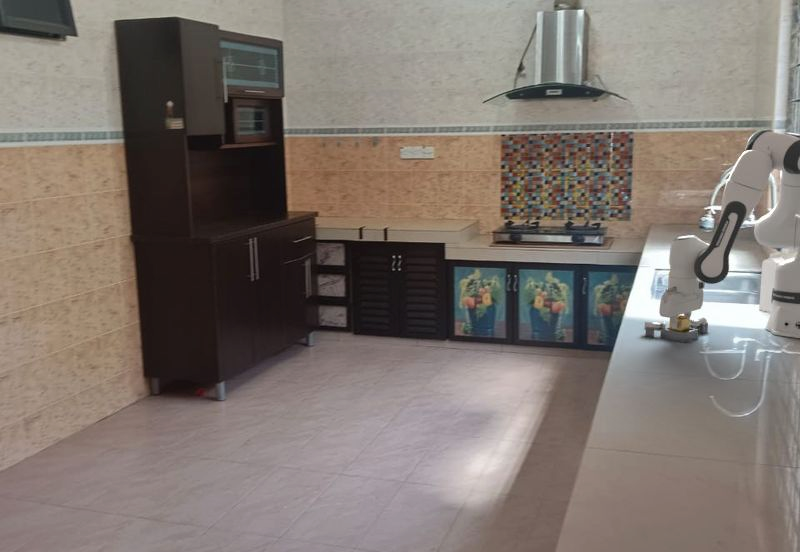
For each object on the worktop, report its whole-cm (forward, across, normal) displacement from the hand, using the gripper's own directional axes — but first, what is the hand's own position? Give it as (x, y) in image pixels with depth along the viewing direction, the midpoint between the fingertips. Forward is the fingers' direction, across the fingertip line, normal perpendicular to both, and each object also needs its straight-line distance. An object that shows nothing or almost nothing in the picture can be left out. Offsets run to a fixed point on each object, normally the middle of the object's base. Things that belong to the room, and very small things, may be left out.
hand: (680, 326), depth 266 cm
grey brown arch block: (+4, -3, +7) cm, 9 cm away
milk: (+4, +60, -1) cm, 60 cm away
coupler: (+2, 0, 0) cm, 2 cm away
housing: (+4, 0, 0) cm, 4 cm away
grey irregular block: (+4, +11, 0) cm, 11 cm away
